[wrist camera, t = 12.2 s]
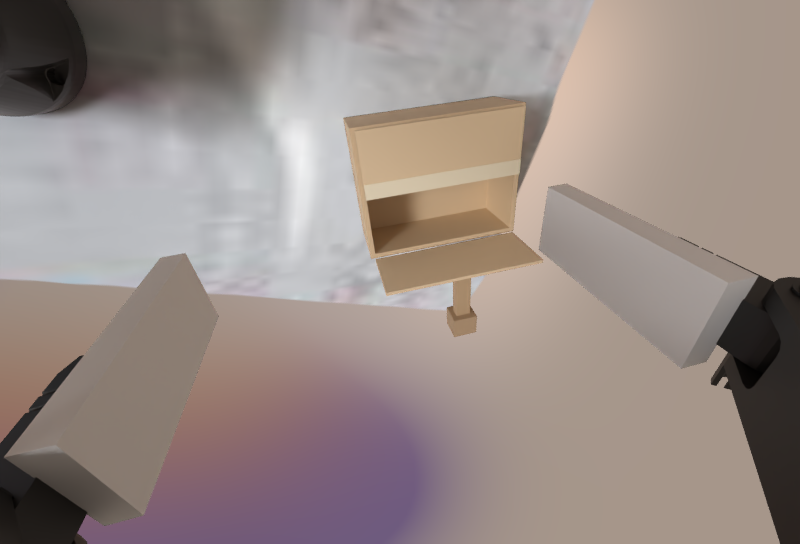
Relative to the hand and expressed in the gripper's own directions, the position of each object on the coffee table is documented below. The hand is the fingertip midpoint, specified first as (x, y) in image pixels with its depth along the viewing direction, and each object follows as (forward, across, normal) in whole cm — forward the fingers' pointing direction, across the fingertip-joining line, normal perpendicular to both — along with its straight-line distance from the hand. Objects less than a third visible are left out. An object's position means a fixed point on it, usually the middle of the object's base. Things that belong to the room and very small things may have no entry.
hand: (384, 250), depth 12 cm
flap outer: (+22, +11, -16) cm, 29 cm away
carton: (+35, +11, -8) cm, 37 cm away
